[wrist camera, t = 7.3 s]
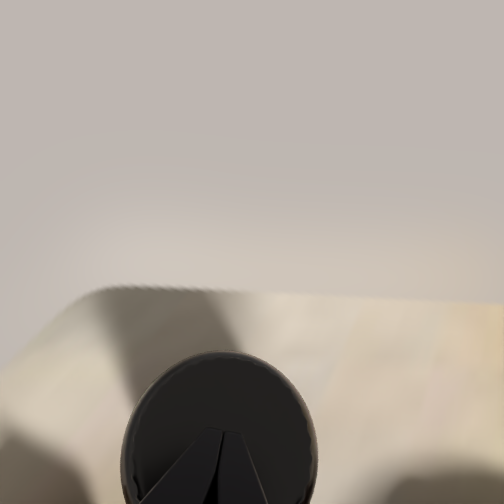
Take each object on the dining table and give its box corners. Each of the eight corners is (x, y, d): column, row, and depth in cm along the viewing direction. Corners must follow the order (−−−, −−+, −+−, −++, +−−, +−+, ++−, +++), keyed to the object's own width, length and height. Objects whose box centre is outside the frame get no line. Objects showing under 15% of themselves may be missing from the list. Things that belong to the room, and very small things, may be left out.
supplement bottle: (130, 496, 19) (22, 542, 9) (188, 366, 22) (159, 284, 12) (259, 554, 19) (310, 679, 8) (299, 411, 22) (374, 366, 11)
